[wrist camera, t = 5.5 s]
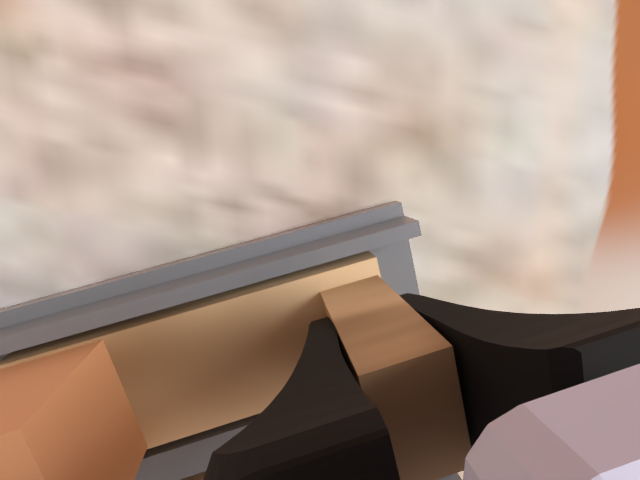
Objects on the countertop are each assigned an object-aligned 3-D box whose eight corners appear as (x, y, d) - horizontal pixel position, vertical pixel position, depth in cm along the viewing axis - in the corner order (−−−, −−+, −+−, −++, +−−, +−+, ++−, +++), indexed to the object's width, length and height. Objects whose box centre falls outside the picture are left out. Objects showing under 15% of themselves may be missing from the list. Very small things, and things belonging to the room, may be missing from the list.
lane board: (449, 467, 17) (472, 505, 15) (-69, 650, 15) (-117, 720, 13) (395, 200, 14) (415, 206, 12) (-255, 379, 12) (-352, 418, 10)
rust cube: (148, 446, 12) (94, 576, 8) (22, 486, 12) (-95, 642, 8) (102, 339, 11) (19, 430, 7) (-35, 378, 11) (-199, 495, 7)
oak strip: (389, 351, 14) (482, 486, 8) (65, 453, 13) (-102, 698, 7) (366, 249, 13) (452, 317, 7) (15, 349, 12) (-230, 529, 6)
